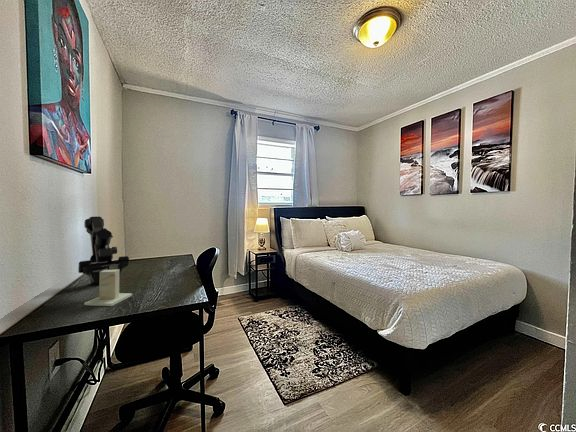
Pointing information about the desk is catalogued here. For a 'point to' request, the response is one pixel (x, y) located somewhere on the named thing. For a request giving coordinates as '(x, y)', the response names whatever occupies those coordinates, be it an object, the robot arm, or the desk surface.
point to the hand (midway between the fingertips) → (107, 279)
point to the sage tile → (108, 300)
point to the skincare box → (109, 284)
